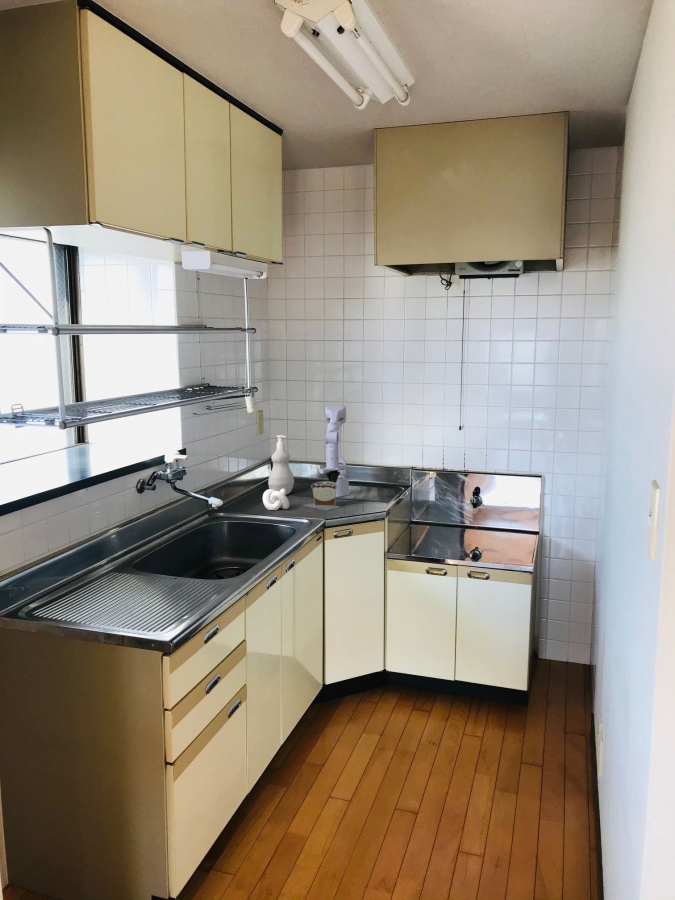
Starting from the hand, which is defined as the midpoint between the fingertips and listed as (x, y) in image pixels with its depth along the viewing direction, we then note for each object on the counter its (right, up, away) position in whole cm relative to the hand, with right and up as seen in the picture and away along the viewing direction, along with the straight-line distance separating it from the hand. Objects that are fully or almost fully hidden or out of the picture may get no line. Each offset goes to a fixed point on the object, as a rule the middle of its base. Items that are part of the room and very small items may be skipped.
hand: (332, 487), depth 329 cm
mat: (-5, -9, -4) cm, 10 cm away
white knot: (-25, -10, -7) cm, 27 cm away
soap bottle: (-26, -5, +29) cm, 39 cm away
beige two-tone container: (-3, -8, -1) cm, 8 cm away
